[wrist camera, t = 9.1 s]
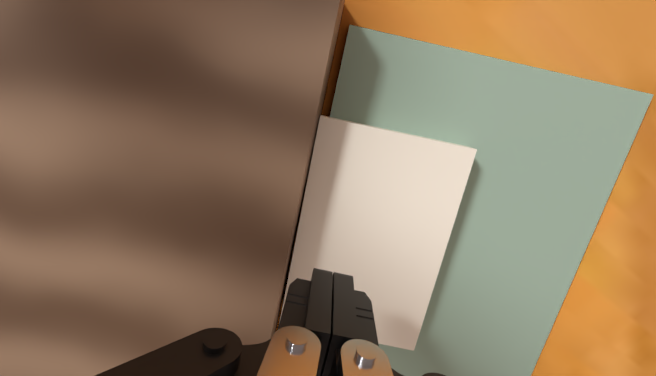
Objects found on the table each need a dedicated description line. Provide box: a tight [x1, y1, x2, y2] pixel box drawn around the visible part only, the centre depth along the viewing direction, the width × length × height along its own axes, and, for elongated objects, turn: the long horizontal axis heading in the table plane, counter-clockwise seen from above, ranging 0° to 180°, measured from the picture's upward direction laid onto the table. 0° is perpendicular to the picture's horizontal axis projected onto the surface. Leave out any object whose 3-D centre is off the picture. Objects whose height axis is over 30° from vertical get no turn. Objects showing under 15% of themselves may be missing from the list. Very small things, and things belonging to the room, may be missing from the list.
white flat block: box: [279, 115, 477, 351], centre depth 19 cm, size 12×8×2 cm, turn 168°
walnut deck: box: [0, 0, 345, 376], centre depth 18 cm, size 24×16×4 cm, turn 168°
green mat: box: [330, 25, 653, 376], centre depth 20 cm, size 22×16×1 cm
